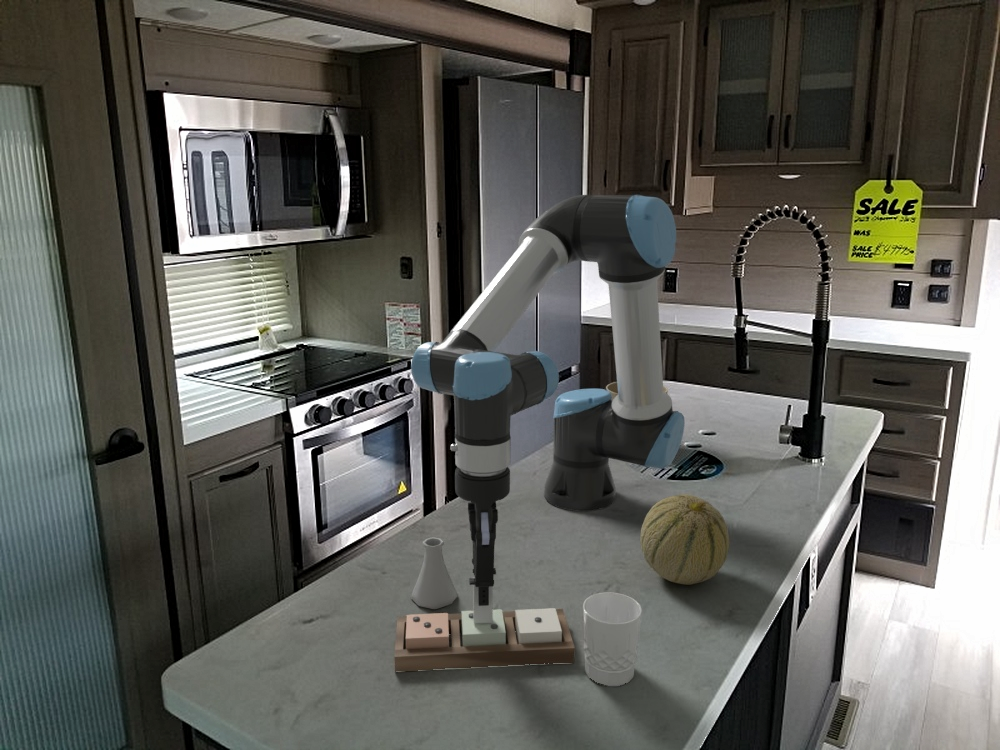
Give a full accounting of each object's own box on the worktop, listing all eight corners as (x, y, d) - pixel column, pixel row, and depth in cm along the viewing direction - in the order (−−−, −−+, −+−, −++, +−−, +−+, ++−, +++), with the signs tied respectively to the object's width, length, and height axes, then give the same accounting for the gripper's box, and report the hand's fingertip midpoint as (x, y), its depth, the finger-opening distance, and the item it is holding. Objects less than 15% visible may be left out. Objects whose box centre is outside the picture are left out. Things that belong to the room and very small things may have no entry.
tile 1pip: (515, 628, 115) (515, 608, 114) (554, 627, 115) (555, 606, 115) (519, 653, 109) (519, 631, 108) (561, 651, 110) (561, 630, 109)
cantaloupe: (652, 550, 141) (656, 473, 137) (734, 568, 134) (741, 489, 130) (626, 587, 128) (630, 504, 124) (715, 609, 121) (722, 522, 118)
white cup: (631, 653, 110) (635, 591, 108) (643, 689, 103) (647, 623, 100) (577, 654, 110) (579, 592, 108) (585, 690, 102) (587, 624, 100)
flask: (434, 581, 130) (433, 527, 127) (466, 596, 125) (465, 540, 123) (402, 599, 124) (400, 543, 122) (434, 615, 120) (433, 557, 117)
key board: (398, 631, 116) (397, 616, 115) (562, 623, 118) (562, 608, 117) (395, 672, 106) (394, 656, 105) (574, 663, 108) (574, 647, 107)
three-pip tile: (407, 633, 114) (406, 613, 113) (448, 632, 114) (447, 611, 113) (406, 658, 108) (405, 637, 107) (449, 656, 108) (448, 635, 107)
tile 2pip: (461, 630, 114) (461, 609, 113) (501, 628, 115) (501, 608, 114) (463, 654, 108) (463, 633, 108) (505, 652, 109) (505, 631, 108)
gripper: (453, 450, 111) (455, 597, 117) (456, 486, 98) (458, 648, 104) (505, 449, 111) (504, 595, 117) (514, 484, 99) (513, 645, 105)
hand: (482, 620), depth 111 cm, fingers closed
